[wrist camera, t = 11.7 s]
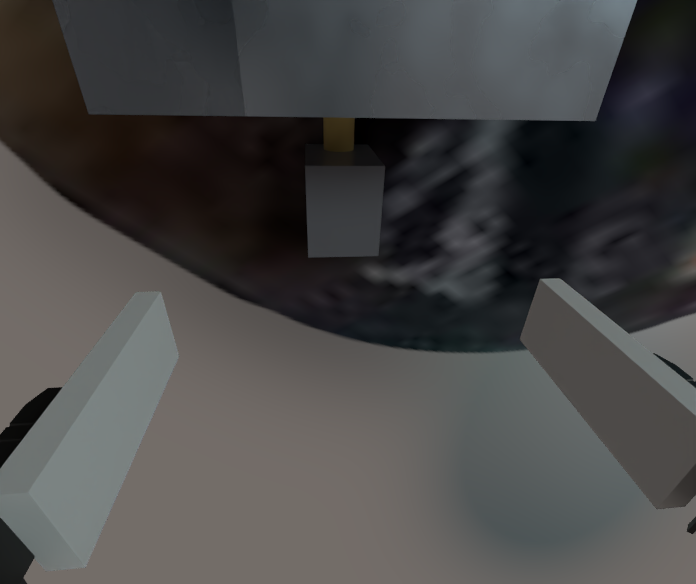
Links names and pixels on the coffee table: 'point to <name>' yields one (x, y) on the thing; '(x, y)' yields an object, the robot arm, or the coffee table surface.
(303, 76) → the housing
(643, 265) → the coffee table surface
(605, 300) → the coffee table surface
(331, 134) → the yellow handled grey mallet
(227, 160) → the coffee table surface
